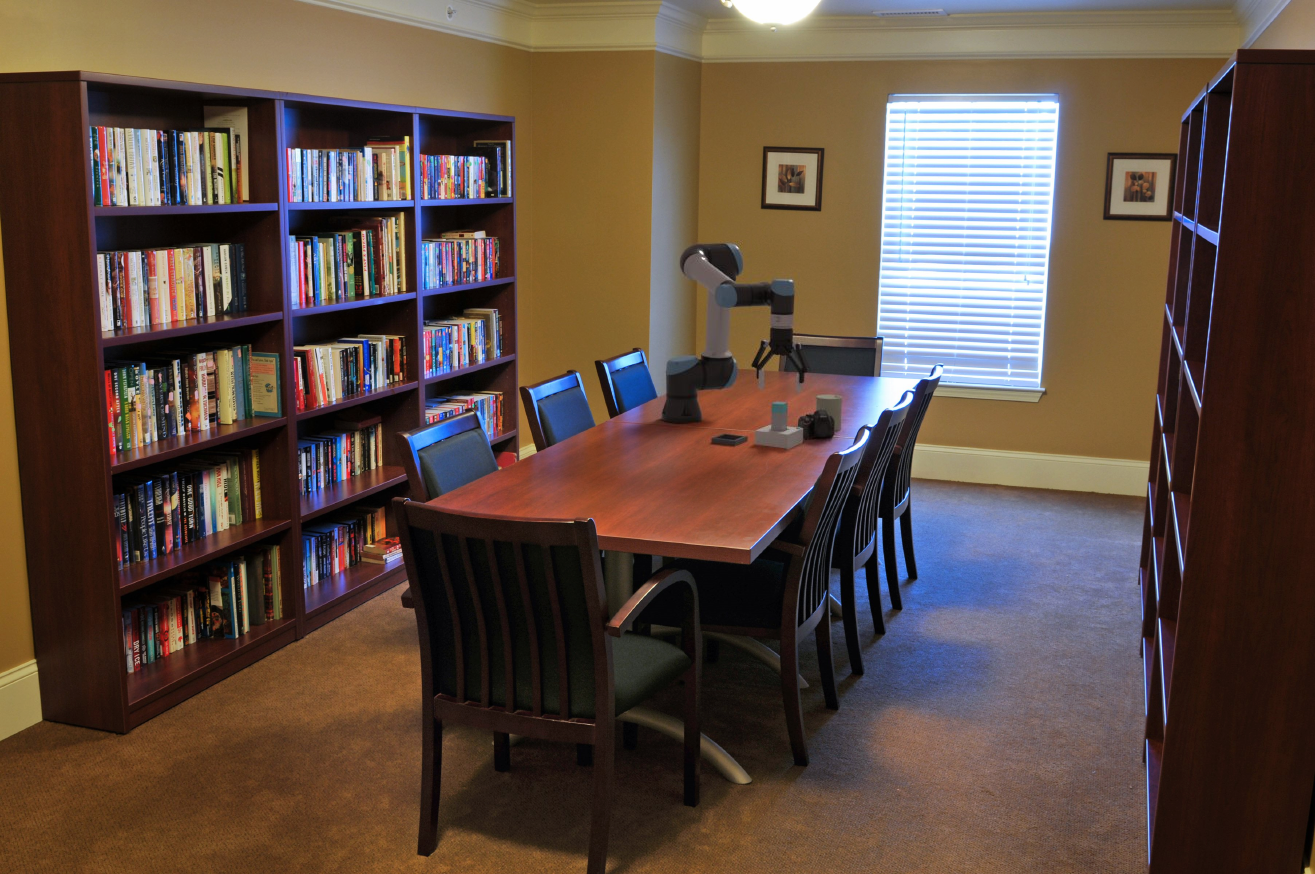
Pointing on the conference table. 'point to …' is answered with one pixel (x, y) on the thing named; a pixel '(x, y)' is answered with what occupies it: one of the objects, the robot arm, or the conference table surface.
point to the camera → (817, 425)
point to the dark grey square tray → (729, 439)
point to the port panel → (779, 437)
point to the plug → (779, 416)
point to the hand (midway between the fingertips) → (779, 390)
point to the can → (831, 407)
